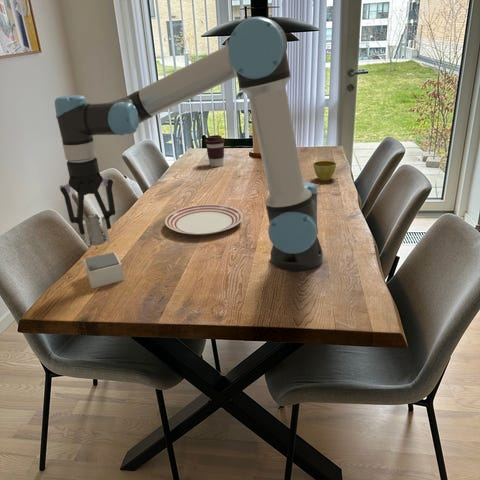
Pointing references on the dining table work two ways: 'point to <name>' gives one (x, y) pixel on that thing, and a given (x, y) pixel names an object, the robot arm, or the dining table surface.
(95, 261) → the stand
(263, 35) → the robot arm
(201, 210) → the dinner plate
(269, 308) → the dining table surface
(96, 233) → the rook chess piece
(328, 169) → the flower pot
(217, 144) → the coffee cup
